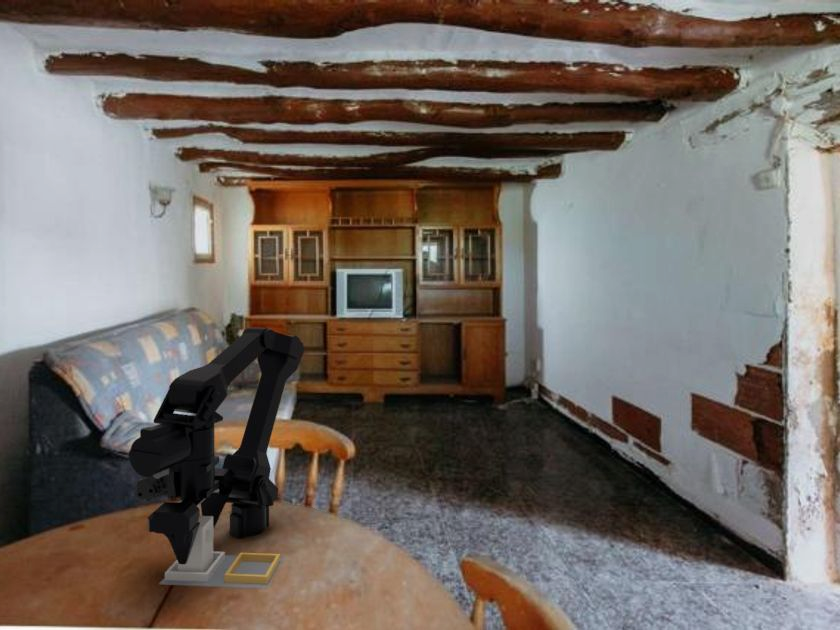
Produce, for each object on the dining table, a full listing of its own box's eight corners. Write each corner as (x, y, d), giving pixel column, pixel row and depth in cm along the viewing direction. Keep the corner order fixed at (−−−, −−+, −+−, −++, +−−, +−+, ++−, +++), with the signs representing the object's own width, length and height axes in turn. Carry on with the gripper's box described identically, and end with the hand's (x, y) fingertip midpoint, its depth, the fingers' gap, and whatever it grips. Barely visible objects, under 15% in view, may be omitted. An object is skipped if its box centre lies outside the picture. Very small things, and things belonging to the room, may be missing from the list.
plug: (178, 575, 84) (177, 526, 83) (189, 561, 88) (189, 515, 87) (206, 576, 84) (206, 527, 83) (216, 562, 88) (216, 516, 87)
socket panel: (158, 587, 82) (158, 576, 81) (186, 557, 91) (186, 546, 90) (267, 592, 81) (267, 581, 81) (284, 560, 90) (284, 550, 90)
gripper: (174, 435, 94) (175, 520, 95) (110, 474, 76) (112, 579, 77) (236, 437, 94) (236, 522, 95) (187, 477, 75) (188, 582, 76)
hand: (196, 548), depth 86 cm, fingers open, 9 cm apart
